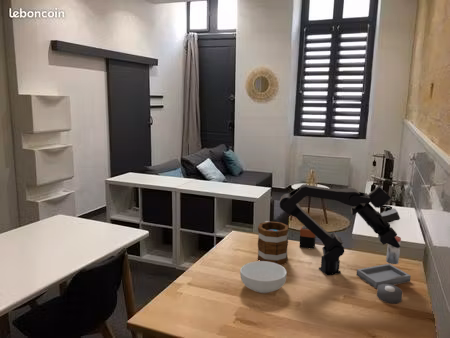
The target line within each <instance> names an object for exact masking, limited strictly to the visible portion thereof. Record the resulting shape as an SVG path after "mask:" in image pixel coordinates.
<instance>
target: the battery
mask: <svg viewBox="0 0 450 338" xmlns="http://www.w3.org/2000/svg"><path fill="white" fill-rule="evenodd" d="M316 237H317V236H316V235H314V234H313V233H312V232H311V231H310V230H309V229H308V228H307V227H306V226H305V225H302V226H301V227H300V229H299V248H301V247H302V248H303V249H309V248H310V249H311V250H314V249H315V247H316Z"/></svg>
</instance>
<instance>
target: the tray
mask: <svg viewBox="0 0 450 338" xmlns="http://www.w3.org/2000/svg"><path fill="white" fill-rule="evenodd" d="M356 276H357V277H358V278H360V279H361V280H363V281H364V282H366V283H367V284H369V285H370V286H372V287H373V288H375V289H377V288H378V286H379V285H381V284H390V285H394V286H397V285H400V284H405V283H410V282H411V276H412V275H410V274H409V273H407V272H405V271H403V270H402V269H400V268H398V267H397V266H395V265H394V264H390V263H385V264H381V265H380V264H379V265H374V266H369V267H364V268H358V269H356Z"/></svg>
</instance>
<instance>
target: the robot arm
mask: <svg viewBox="0 0 450 338" xmlns="http://www.w3.org/2000/svg"><path fill="white" fill-rule="evenodd" d="M305 197H312V198H316V199H317V198H318V199H324V200H331V201H337V202H340V203H341V204H344V205H347V206H350V207H351V209H350V213H351V215H352V216H355V215H356V214H358V215H359V216H360V217H361V218H362V219H363V221H364V222H365V223H366V224H367V226H368V227H370V228H371V229H372V230H373V232H374V233H375V234H377V239H378V241H379V242H380V243H381V244H382V245H386V244H387V245H388V244H390V245H392V246H394V247H397V248H399V247H400V248H401V244H400V245H399V243H398V242H397V240H396V238H395V236H398V233H397V232H396V230H395V229H393V227H391V224H390V223H393V222H395V221H399V220H400V219H401V217H400V214H399V212H398V210H397V209H396V208H391V207H390V206H385V205H386V204H387V203H389V202H390V201H392V200H393V199H392V197H391V196H390V195H389V194H388V193H387V192H386V191H385V190H384V189H383V188H381V187H380V185H377V186H376V187H375V188H374V189H373V190H372V191H371V192H369V193H367V192H362V191H359V190H358V189H356V188H340V189H337V188H329V187H321V186H315V185H309V184H301V185H300V186H299V187H297V188H295V189H293V190H292V191H290V192H289V193H284V194H283V195H281V197H280V200H279V208H280V209H281V210H282V211H283V212H285V213H286V214H288V215H289V216H292V217H293V218H296V219H297V220H298V221H299V222H300V223H301V224H302V225H303V226H306V227H307V228H308V229H309V230H310V231H311V232H312V233H313V234H314V235H316V236H315V237H317V238H318V239H319V240H320V241H321V243H322V244H323V245H324V246H323V247H322V253H323V255H321V261H320V267H318V270H319V271H320V272H322V273H323V274H324V275H326V276H332V275H334V276H335V275H337V274H342V272H341V271H340V265H341V264H340V262H341V261H340V257H342V256H343V255H344V254H345V247H344V244H343V243H344V242H343V239H342V237H341V236H338V235H337V234H336V232H335V231H333V232H332V233H330V232H328V231H327V230H325V228H323V226H321V225H320V224H319V223H318V221H316V220H315V219H314V218H313V217H311V216H310V214H308V213H307V212H306V211H305V210H304V209H303V208H302V207H301V206H300V204H299V203H300V202H301V201H302V200H304V199H305ZM372 205H373V206H372ZM384 206H385V207H384ZM383 207H384V210H383V211H382V212H379V211H377V210H376V209H381V208H383Z"/></svg>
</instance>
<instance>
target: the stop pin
mask: <svg viewBox="0 0 450 338" xmlns="http://www.w3.org/2000/svg"><path fill="white" fill-rule="evenodd" d="M395 238H396V240H397V242H398V243H399V245H400V247H399V248H397V247H394V246H392V245H390V244H387V247H386V248H387V249H386V257H385V261H386V263H387V264H391V265H398V264H399V261H400V253H401V251H400V250H401V243H402V242H401V241H402V238H401V237H400V236H398V235H397V236H395Z"/></svg>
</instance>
